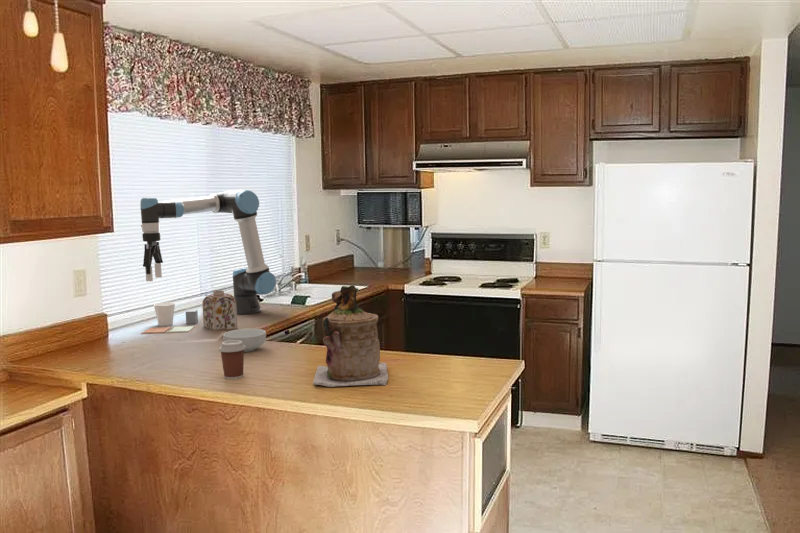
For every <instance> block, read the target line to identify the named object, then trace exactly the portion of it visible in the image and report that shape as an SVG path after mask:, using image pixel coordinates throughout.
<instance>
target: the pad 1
mask: <svg viewBox="0 0 800 533" xmlns="http://www.w3.org/2000/svg"><path fill="white" fill-rule="evenodd" d="M149 328H150V329H149ZM149 328H147V329H148V330H147V329H146V330H147V331H146V330H144V331H145V332H144V331H143V332H144V333H163V334H165V333H164V332H166V331H167V330H168V329H170V328H171V326H167V327H166V326H161V327H160V326H159V327H149Z"/></svg>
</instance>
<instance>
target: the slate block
mask: <svg viewBox="0 0 800 533" xmlns="http://www.w3.org/2000/svg"><path fill="white" fill-rule="evenodd" d="M198 314H199V313H198V309H188V310H186V311H185V322H186V323H185V324H186V325H192V324H197V323H198V322H199V318H198V317H199V315H198Z"/></svg>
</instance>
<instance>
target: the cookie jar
mask: <svg viewBox="0 0 800 533" xmlns="http://www.w3.org/2000/svg"><path fill="white" fill-rule="evenodd" d="M340 287H341V288H340V290H337V291H333V292H332V293H331V300H332V302H334V303H335V304H336V305H335V306H334V308H333V309H334V310H333V311H331V312H330V313H329V314H327V316H325V317H322V322H321V325H322V326H321V327H322V330H323V338H322V341H323V343H324V346H325V347H326V349H327V350H326V356H325V364H326V365H327V366H325V365H318V366H317V367H316V371H315V374H314V378H313V381H312V384H313V386H315V385H320V386H322V387H323V386H325V387H329V388H333V387H335V388H336V387H348V386H371V385H372V386H374V385H375V386H376V385H380V386H382V385H383V386H387V381H388V380H389V374H388V365H387V363H386V362H381V347H380V346H381V345H380V344H381V343H380V339H379V333H378V324H377V323H378V321H379V315H378V314H376V313H371V312H366V311H364V310H363V309H362V308H360V307H359V306H358V303H357V292H359V290H360V289H359V288H358V287H356V286H355V285H354V284H351V285H349V286H347V285H342V286H340Z"/></svg>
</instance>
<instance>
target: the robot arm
mask: <svg viewBox="0 0 800 533" xmlns="http://www.w3.org/2000/svg"><path fill="white" fill-rule="evenodd" d="M139 205H140V207H139V208H140V216H141V219H140V220H141V225H140V227H141V230H142V232H143V233H142V234H141V235H142V241H143V242H146V243H145V244H143V245H144V253H143V264H142V267H143V268H145V270H144V272H145V282H153V281H154V276H153V266H152V263H153V261H154V275H155V278H163V275H162V274H163V273H162V264H163V263H164V262H163V258H162V252H161V248H160V241H161V233H160V231H161V226H160V225H161V224H160V219H177V218H181V217H183V216H184V215H189V214H200V213H208V212H212V213H214V214H216V213H217V214H219V213H224V214H232V215H233V216H232V217H233V220H235V221H236V222H237V224H238V227H239V228H238V229H239V234H240V237H241V242H242V246H243V250H244V251H243V252H244V255H245V260H246V264H247V268H239V269H234V270H233V271H232V282H233V283H232V285H233V286H232V287H233V297H234V299H235V300H236V308H237V315H247V314H248V315H249V314H255V313H260V312H261V305H260V302H259V300H258V297H257V295H259V296H263V295H269V294H271V293H272V292H273V291H274V289H275V287H276V284H277V279H276V276H275V275H274V274H273V273H272V272H271V271H270V268H269V265H268V264H266V262H265V258H264V252H263V250H262V245H261V239H260V235H259V230H258V225H257V220H256V217H257V216H258V212H257V211H258V210H259V207H260V200H259V197H258V195H257V194H256V193H255V192H253V191H252V190H247V189H235V190H232V189H230V190H226V191H222V192H217V193H211V194H210V195H209V196H199V197H197V196H196V197H189V198H179V199H178V198H177V199H169V200H159V199H158V197H142V198H141V199H140V204H139ZM153 259H154V260H153Z"/></svg>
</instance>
